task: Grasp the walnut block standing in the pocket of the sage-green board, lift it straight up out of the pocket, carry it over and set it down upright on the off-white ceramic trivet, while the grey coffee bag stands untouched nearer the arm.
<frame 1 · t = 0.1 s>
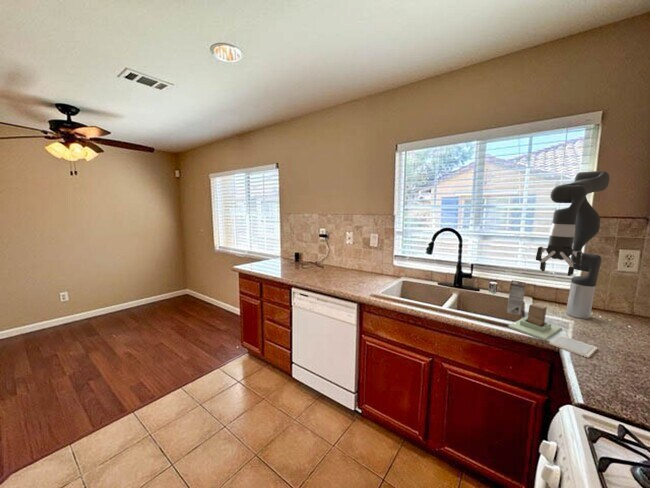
hand: (555, 273, 111), 29 cm above the countertop, fingers open, 8 cm apart
grey coffee bag: (514, 311, 143), on the countertop
walnut block: (535, 326, 124), point 1 cm above the countertop, touching pocket board
pocket board: (534, 328, 124), on the countertop
trivet: (572, 346, 109), on the countertop
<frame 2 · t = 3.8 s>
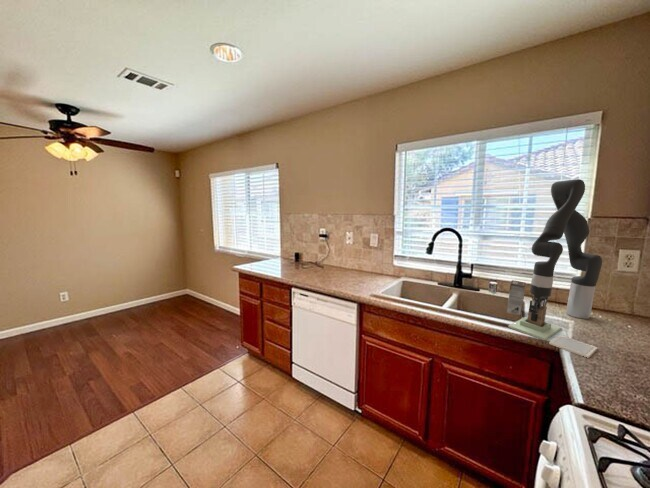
hand: (536, 319, 124), 4 cm above the countertop, fingers closed on walnut block, 5 cm apart
walnut block: (535, 326, 124), point 1 cm above the countertop, touching gripper, pocket board
everything else where it was.
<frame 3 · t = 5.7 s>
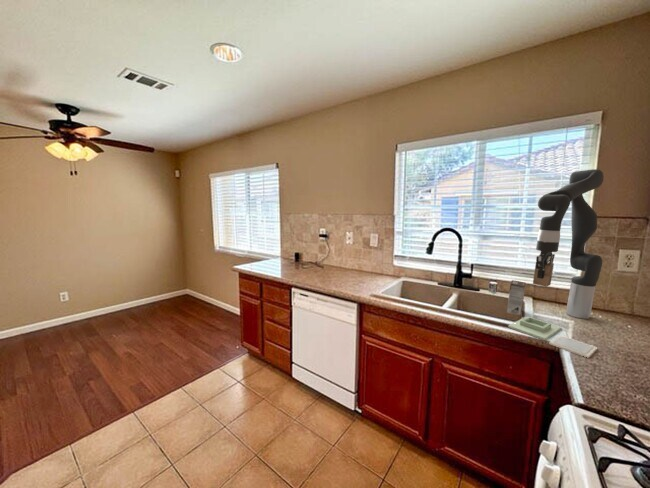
hand: (542, 277, 120), 25 cm above the countertop, fingers closed on walnut block, 5 cm apart
walnut block: (541, 284, 121), point 21 cm above the countertop, touching gripper
everything else where it was.
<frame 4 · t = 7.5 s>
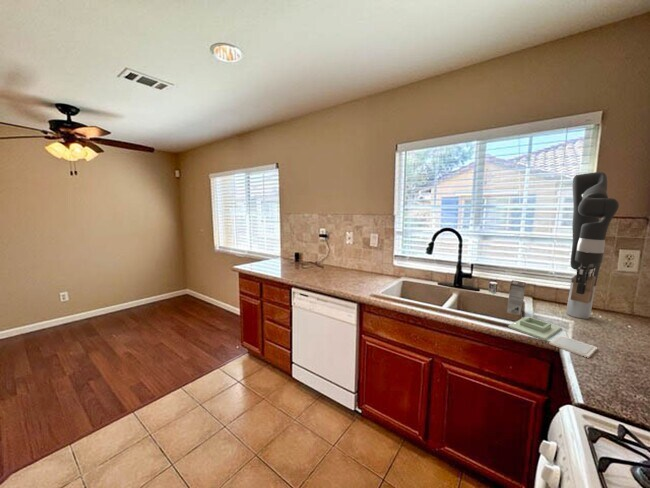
hand: (582, 292, 105), 23 cm above the countertop, fingers closed on walnut block, 5 cm apart
walnut block: (580, 300, 106), point 20 cm above the countertop, touching gripper
everything else where it was.
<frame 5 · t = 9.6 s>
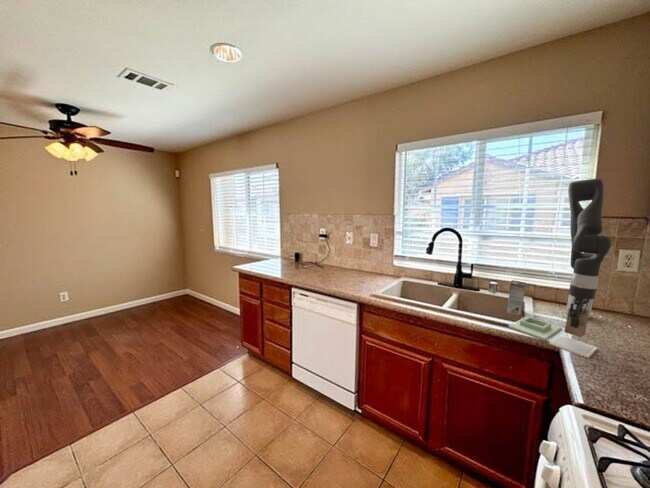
hand: (576, 325, 107), 9 cm above the countertop, fingers closed on walnut block, 5 cm apart
walnut block: (574, 333, 108), point 6 cm above the countertop, touching gripper
everything else where it was.
when the fingers open (6 cm above the countertop, at t = 11.4 s): walnut block drops 1 cm, resting on trivet.
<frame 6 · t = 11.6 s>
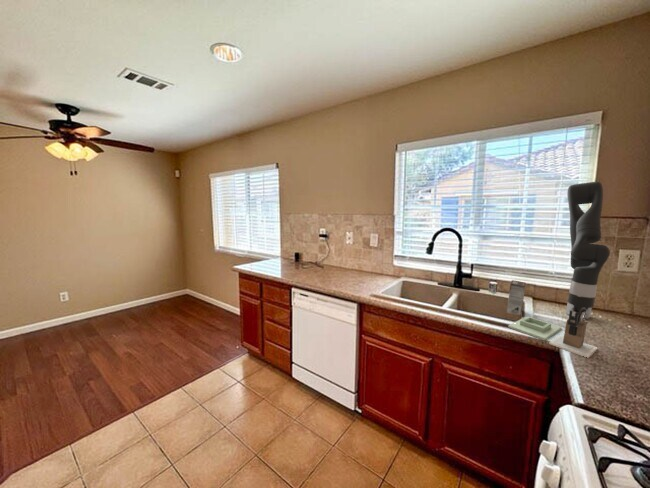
hand: (575, 332, 108), 6 cm above the countertop, fingers open, 7 cm apart
walnut block: (572, 344, 109), point 1 cm above the countertop, touching trivet
everything else where it was.
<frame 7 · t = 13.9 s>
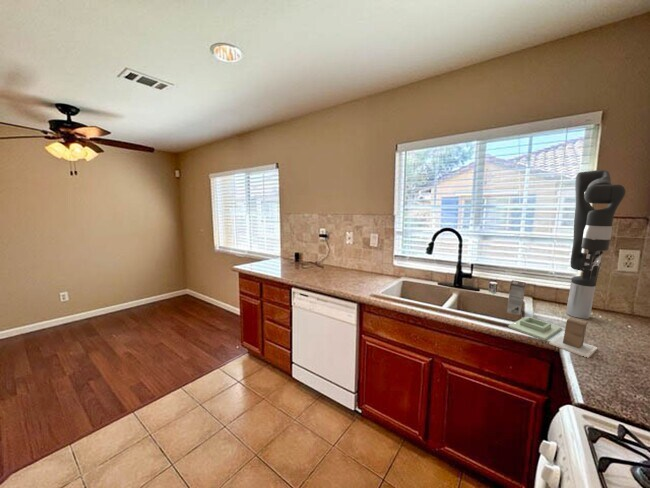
hand: (589, 277, 105), 29 cm above the countertop, fingers open, 8 cm apart
nothing on the countertop moved.
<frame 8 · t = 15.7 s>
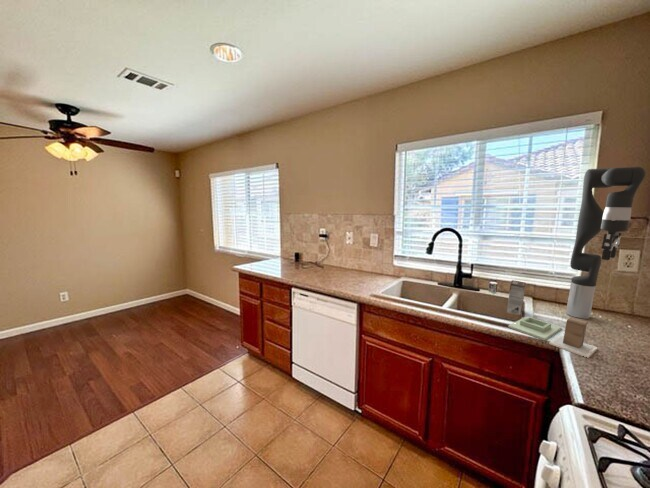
hand: (608, 258, 108), 36 cm above the countertop, fingers open, 8 cm apart
nothing on the countertop moved.
at the end: walnut block 0.1 cm from the trivet (horizontally); walnut block tilted 0°; the gripper is holding nothing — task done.
